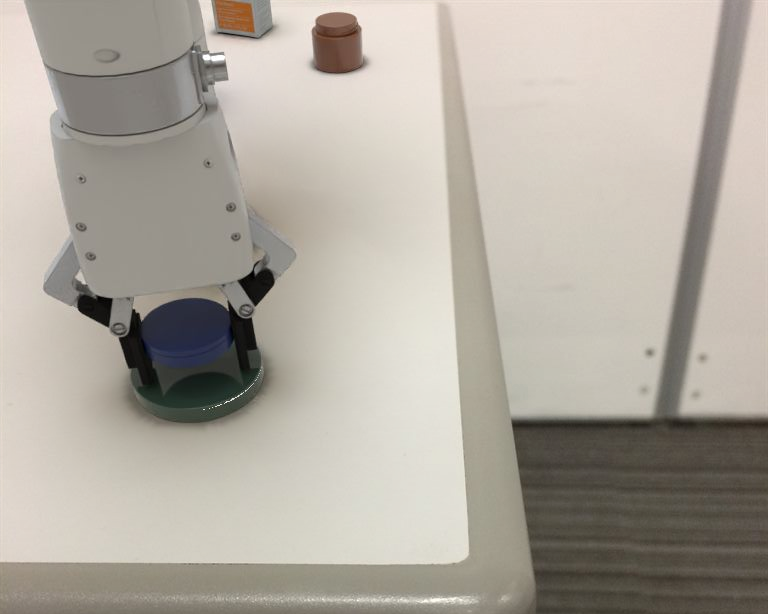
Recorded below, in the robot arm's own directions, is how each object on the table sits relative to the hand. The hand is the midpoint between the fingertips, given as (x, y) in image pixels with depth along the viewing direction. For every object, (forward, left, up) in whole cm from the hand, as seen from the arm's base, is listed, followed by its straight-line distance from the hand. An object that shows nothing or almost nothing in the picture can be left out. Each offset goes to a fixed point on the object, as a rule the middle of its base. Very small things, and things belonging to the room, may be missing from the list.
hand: (195, 362), depth 56 cm
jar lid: (0, 0, +3) cm, 3 cm away
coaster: (0, 0, -2) cm, 2 cm away
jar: (+37, -42, -2) cm, 56 cm away
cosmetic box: (+53, -40, -2) cm, 67 cm away
